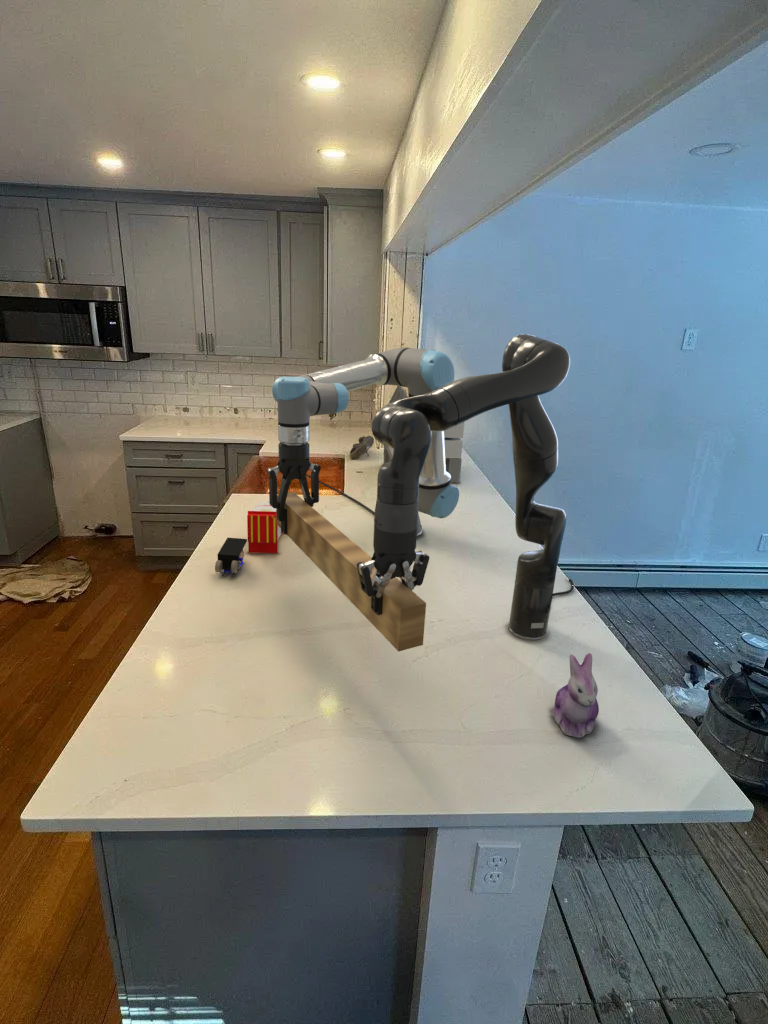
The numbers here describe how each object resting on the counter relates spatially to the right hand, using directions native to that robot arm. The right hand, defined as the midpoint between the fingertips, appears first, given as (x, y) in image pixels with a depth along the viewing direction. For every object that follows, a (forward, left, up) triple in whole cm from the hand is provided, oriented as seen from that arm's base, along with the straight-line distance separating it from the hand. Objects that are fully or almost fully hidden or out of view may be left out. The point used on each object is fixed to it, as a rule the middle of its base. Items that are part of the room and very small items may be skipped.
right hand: (391, 609), depth 103 cm
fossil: (-168, -117, -23) cm, 206 cm away
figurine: (-18, +32, -23) cm, 44 cm away
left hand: (-26, -44, -3) cm, 51 cm away
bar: (-13, -22, -4) cm, 26 cm away
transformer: (-157, -76, -23) cm, 176 cm away
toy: (-53, -78, -23) cm, 98 cm away
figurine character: (-28, -70, -23) cm, 79 cm away
